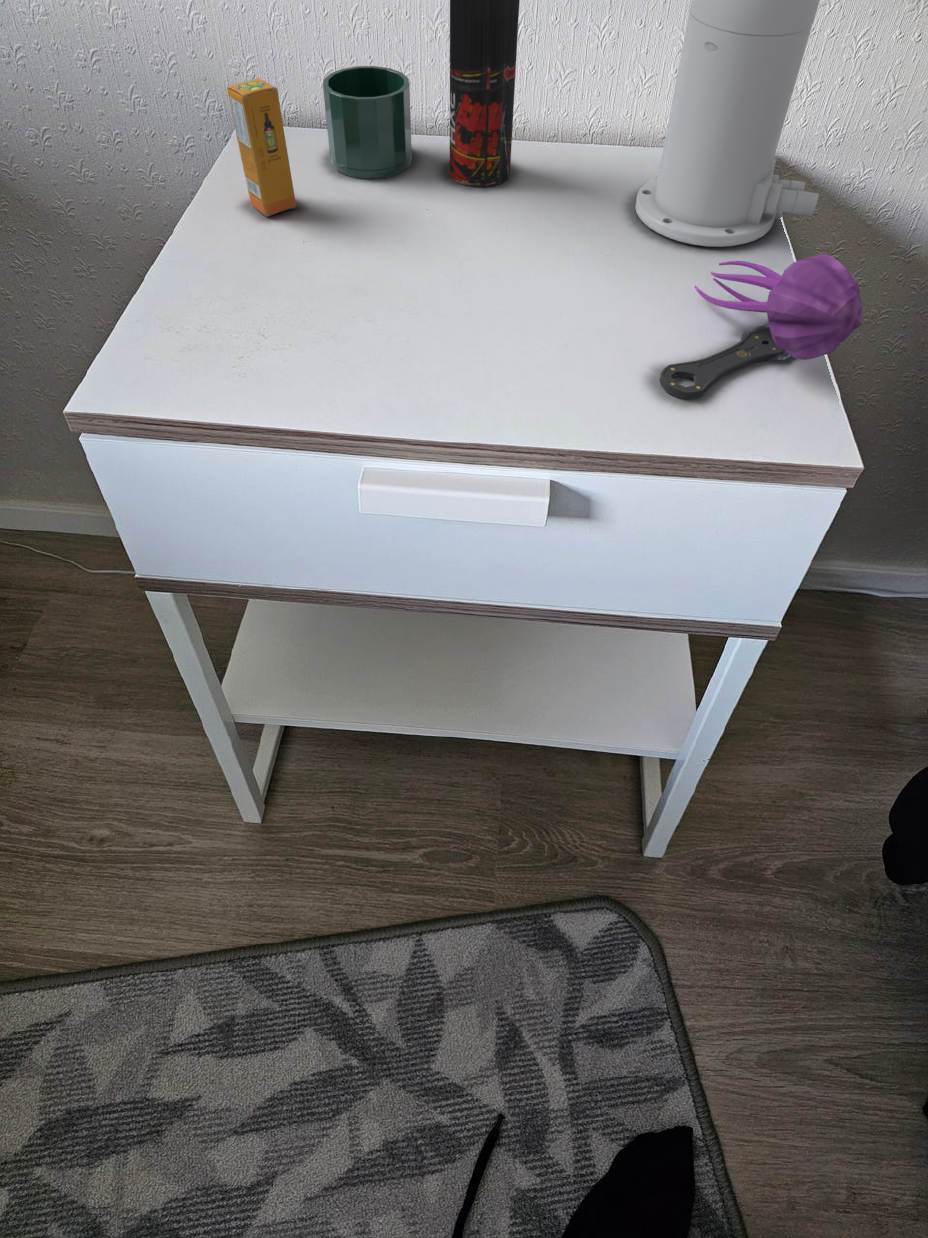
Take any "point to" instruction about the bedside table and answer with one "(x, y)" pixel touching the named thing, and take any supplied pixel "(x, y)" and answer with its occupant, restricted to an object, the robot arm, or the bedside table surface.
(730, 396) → the bedside table surface
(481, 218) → the bedside table surface
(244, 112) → the supplement box
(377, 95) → the cup
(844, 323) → the jellyfish
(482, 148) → the deodorant
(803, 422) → the bedside table surface
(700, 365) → the hex hole wrench
